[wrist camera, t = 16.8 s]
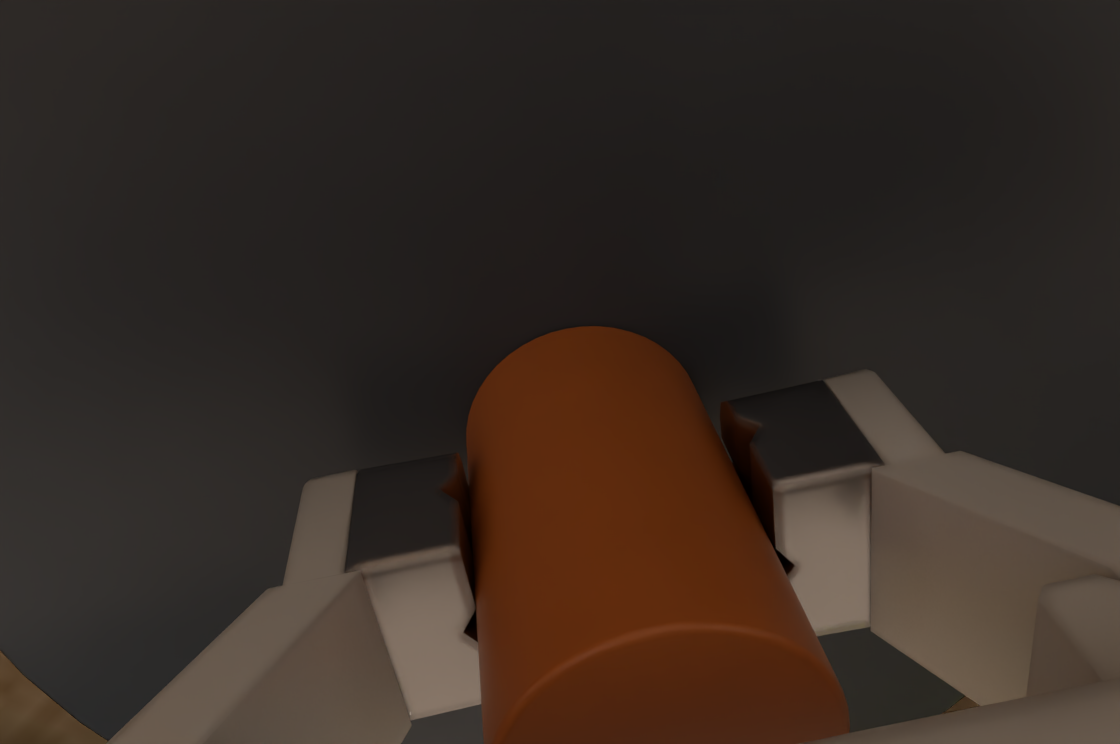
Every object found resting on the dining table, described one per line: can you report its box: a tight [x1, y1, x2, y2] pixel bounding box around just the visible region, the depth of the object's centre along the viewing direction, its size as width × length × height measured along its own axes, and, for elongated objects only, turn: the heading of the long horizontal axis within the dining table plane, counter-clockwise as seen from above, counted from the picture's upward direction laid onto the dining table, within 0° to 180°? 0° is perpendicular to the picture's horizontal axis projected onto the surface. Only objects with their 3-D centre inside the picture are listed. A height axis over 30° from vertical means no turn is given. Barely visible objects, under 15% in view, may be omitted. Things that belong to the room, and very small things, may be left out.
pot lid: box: [0, 0, 1120, 744], centre depth 9 cm, size 15×15×6 cm
